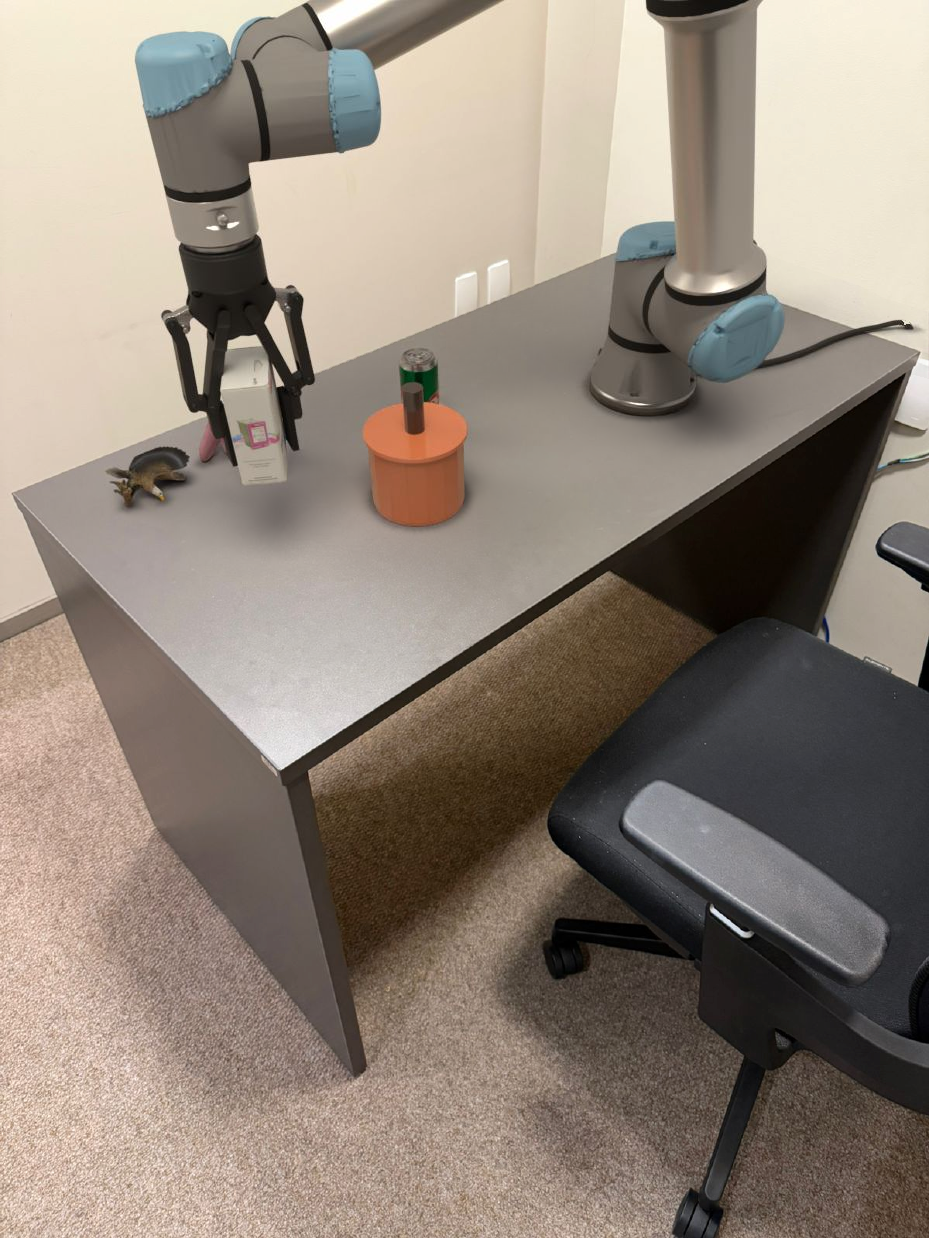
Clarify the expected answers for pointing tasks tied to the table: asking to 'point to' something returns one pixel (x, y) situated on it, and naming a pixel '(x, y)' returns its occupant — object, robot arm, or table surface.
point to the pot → (418, 489)
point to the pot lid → (414, 429)
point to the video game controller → (209, 444)
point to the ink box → (254, 415)
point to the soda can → (420, 372)
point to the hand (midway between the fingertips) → (263, 451)
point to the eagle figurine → (149, 471)
